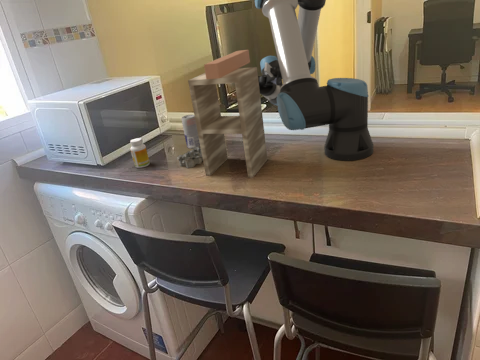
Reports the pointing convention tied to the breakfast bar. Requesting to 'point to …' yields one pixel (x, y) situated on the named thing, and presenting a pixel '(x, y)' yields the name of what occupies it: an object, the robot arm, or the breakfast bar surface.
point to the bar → (226, 64)
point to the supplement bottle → (139, 153)
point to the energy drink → (190, 131)
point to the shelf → (229, 119)
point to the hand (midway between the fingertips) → (246, 67)
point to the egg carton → (190, 158)
